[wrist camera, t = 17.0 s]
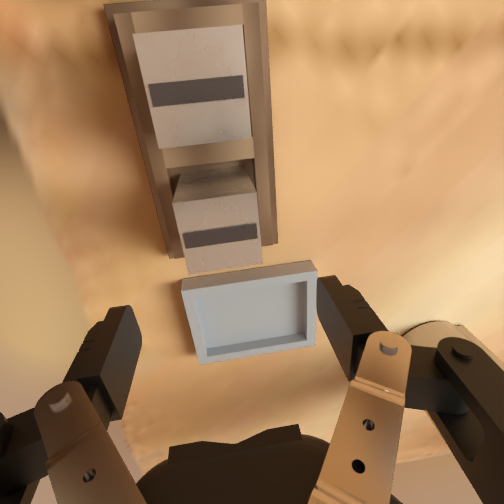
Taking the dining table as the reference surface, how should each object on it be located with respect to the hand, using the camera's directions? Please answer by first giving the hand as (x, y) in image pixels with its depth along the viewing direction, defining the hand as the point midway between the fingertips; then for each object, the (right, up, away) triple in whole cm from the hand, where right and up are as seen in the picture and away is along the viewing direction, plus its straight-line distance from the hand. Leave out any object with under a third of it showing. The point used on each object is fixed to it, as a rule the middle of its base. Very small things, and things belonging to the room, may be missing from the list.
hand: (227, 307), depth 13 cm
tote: (+1, -4, +19) cm, 20 cm away
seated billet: (-3, +14, +8) cm, 16 cm away
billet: (-2, +7, +12) cm, 14 cm away
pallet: (-2, +11, +11) cm, 15 cm away
